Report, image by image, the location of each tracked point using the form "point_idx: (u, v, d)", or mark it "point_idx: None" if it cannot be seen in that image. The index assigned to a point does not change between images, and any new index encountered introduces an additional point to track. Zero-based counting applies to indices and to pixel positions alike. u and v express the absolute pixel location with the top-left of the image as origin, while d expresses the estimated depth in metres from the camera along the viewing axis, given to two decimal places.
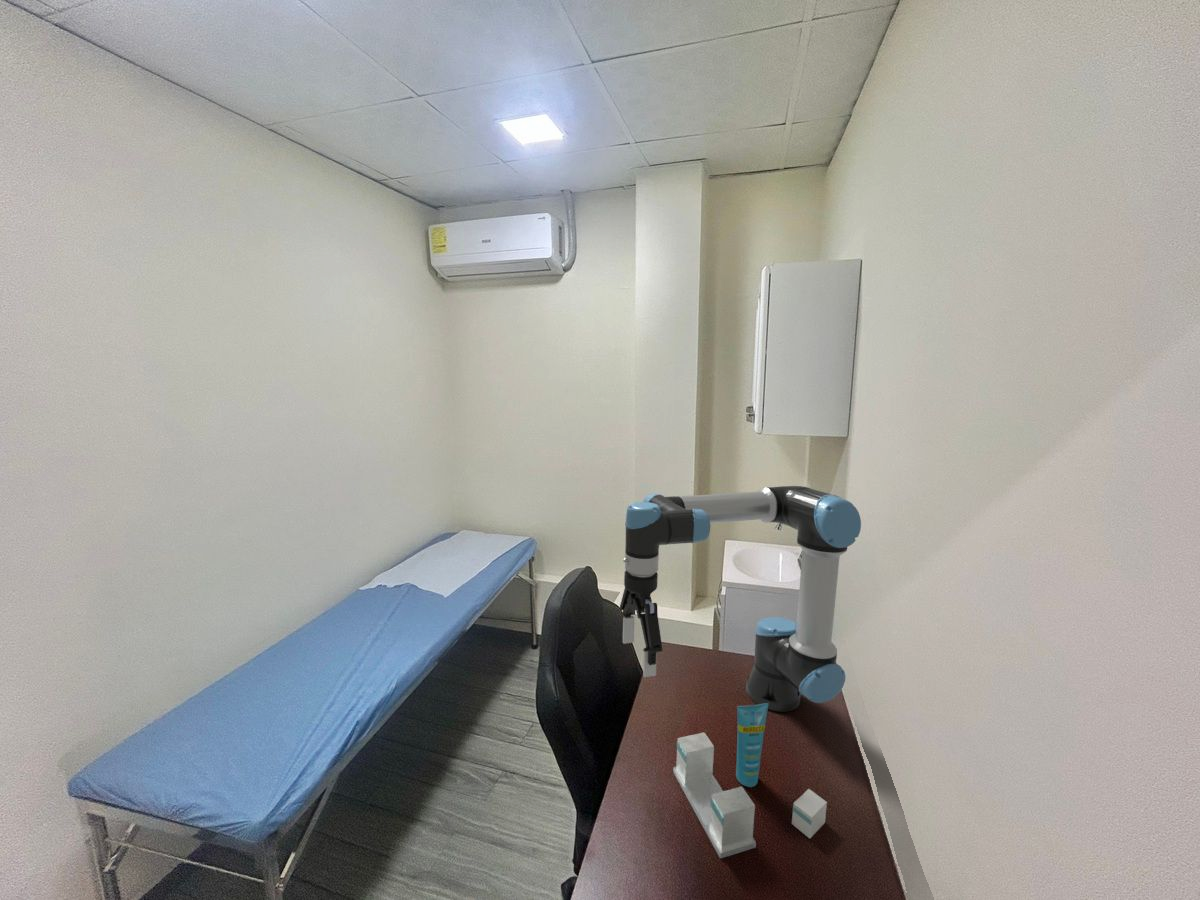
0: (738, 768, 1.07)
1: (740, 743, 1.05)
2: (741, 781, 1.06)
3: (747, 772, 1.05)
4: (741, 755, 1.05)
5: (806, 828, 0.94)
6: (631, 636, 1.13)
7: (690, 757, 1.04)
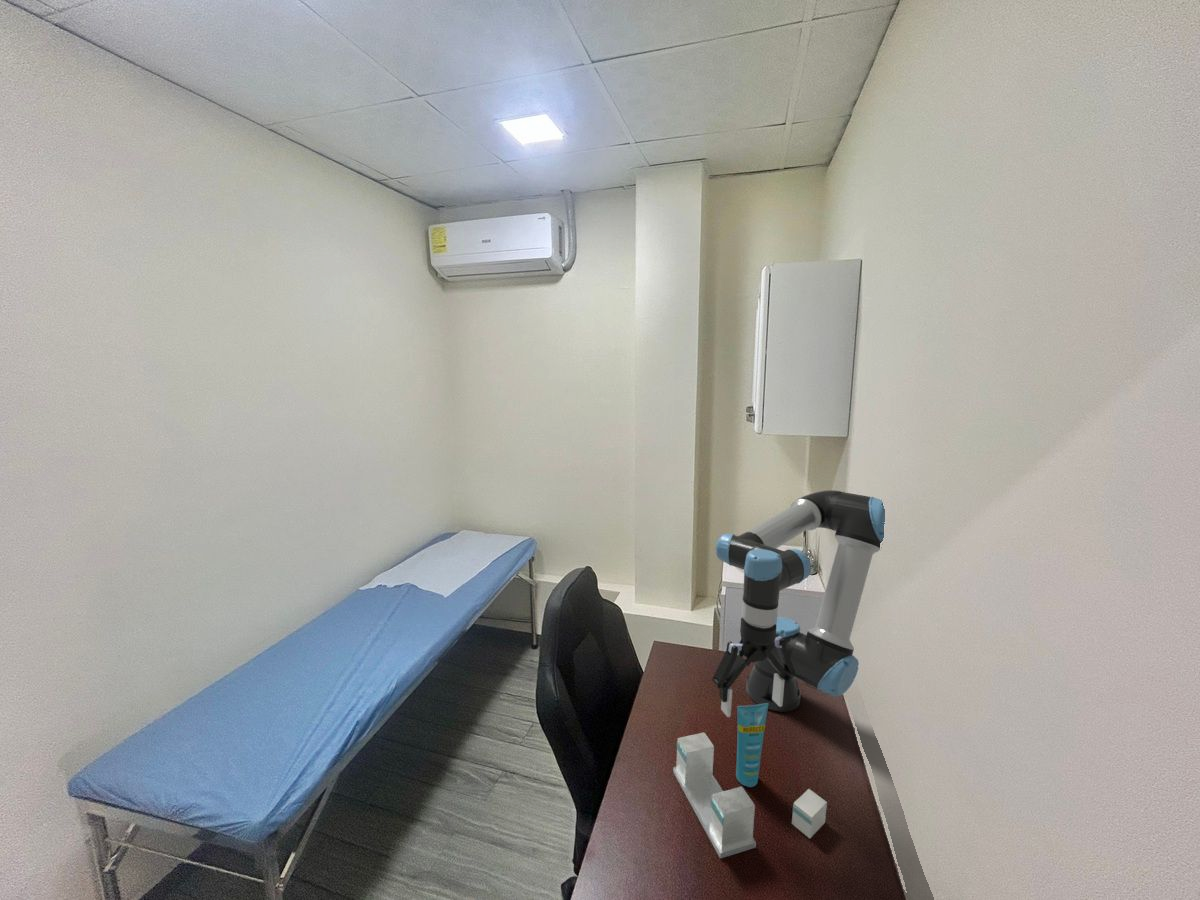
0: (738, 768, 1.07)
1: (740, 743, 1.05)
2: (741, 781, 1.06)
3: (747, 772, 1.05)
4: (741, 755, 1.05)
5: (806, 828, 0.94)
6: (778, 699, 1.06)
7: (690, 757, 1.04)
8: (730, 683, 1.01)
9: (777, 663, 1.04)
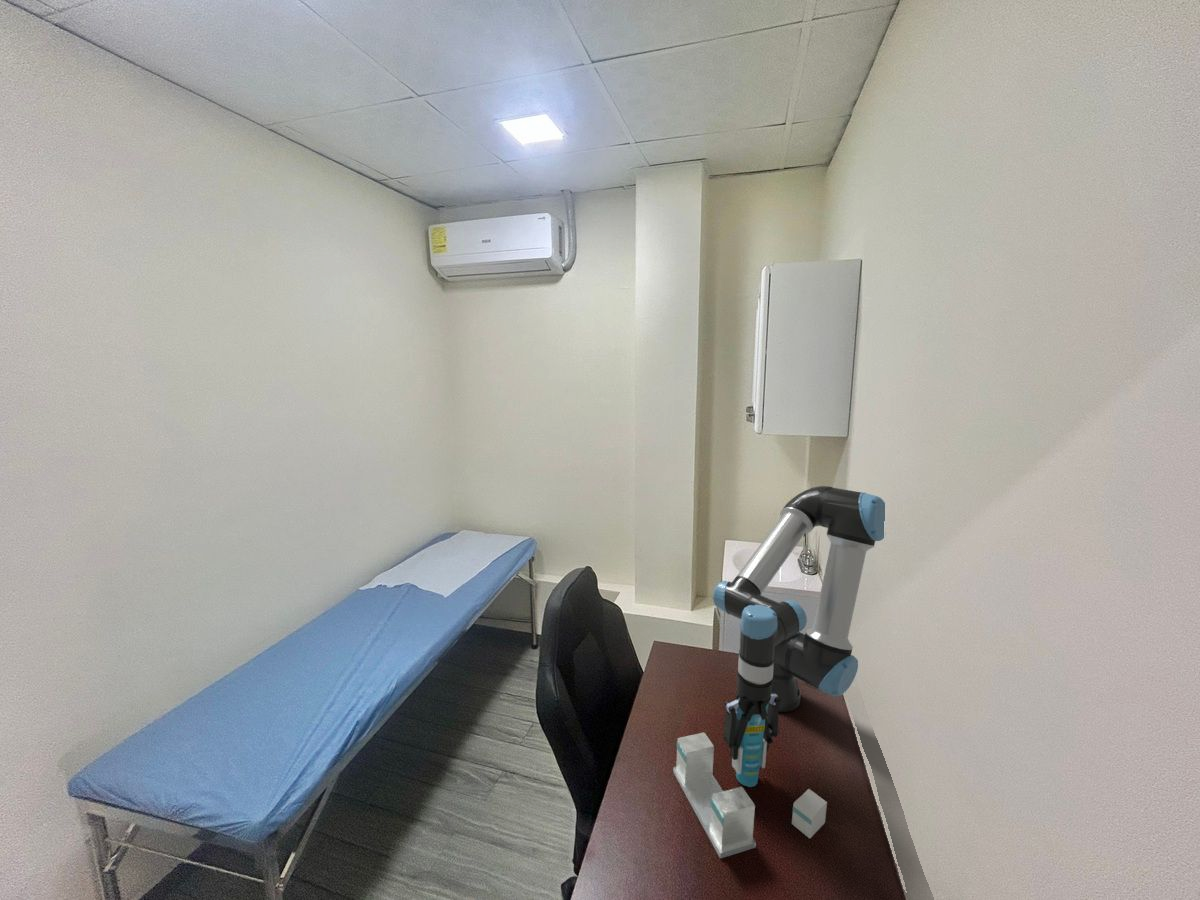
0: None
1: None
2: (741, 781, 1.06)
3: (747, 771, 1.05)
4: None
5: (806, 828, 0.94)
6: (761, 760, 1.07)
7: (690, 757, 1.04)
8: (739, 741, 1.04)
9: (766, 722, 1.05)
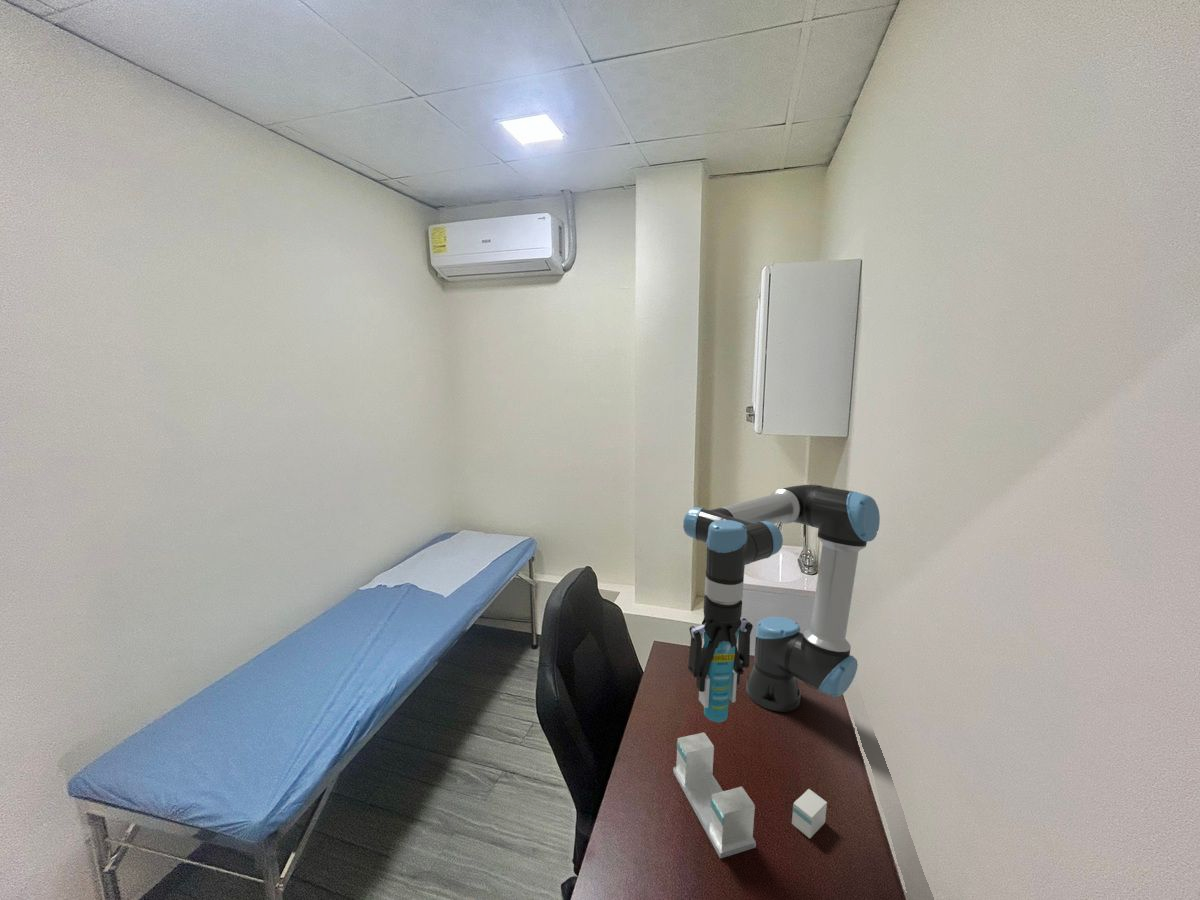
0: None
1: (708, 673, 0.95)
2: (709, 716, 0.96)
3: (715, 705, 0.95)
4: (709, 687, 0.95)
5: (806, 828, 0.94)
6: (730, 694, 0.97)
7: (690, 757, 1.04)
8: (706, 670, 0.94)
9: (736, 650, 0.95)
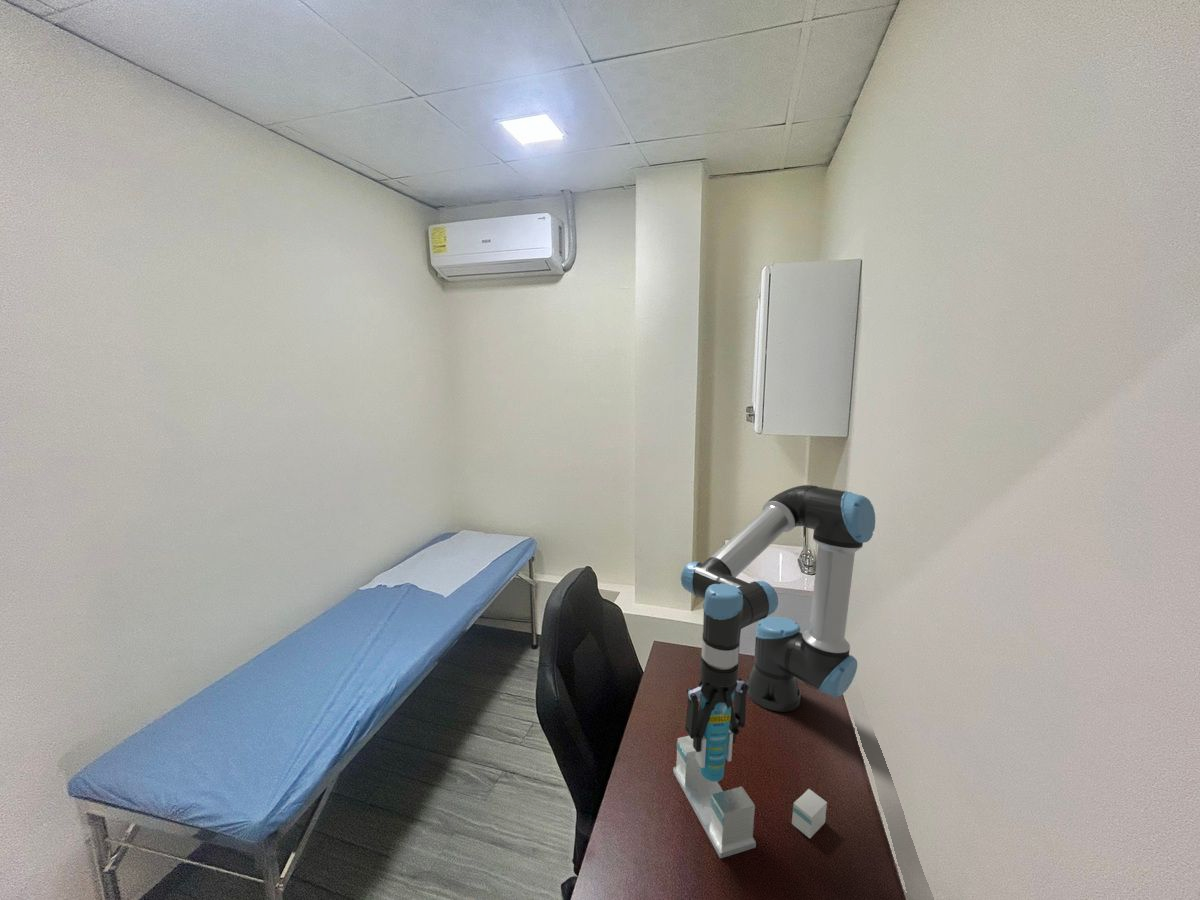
0: None
1: (704, 734, 0.97)
2: (705, 775, 0.98)
3: (711, 765, 0.97)
4: None
5: (806, 828, 0.94)
6: (727, 753, 0.99)
7: (690, 757, 1.04)
8: (702, 732, 0.95)
9: (732, 711, 0.97)
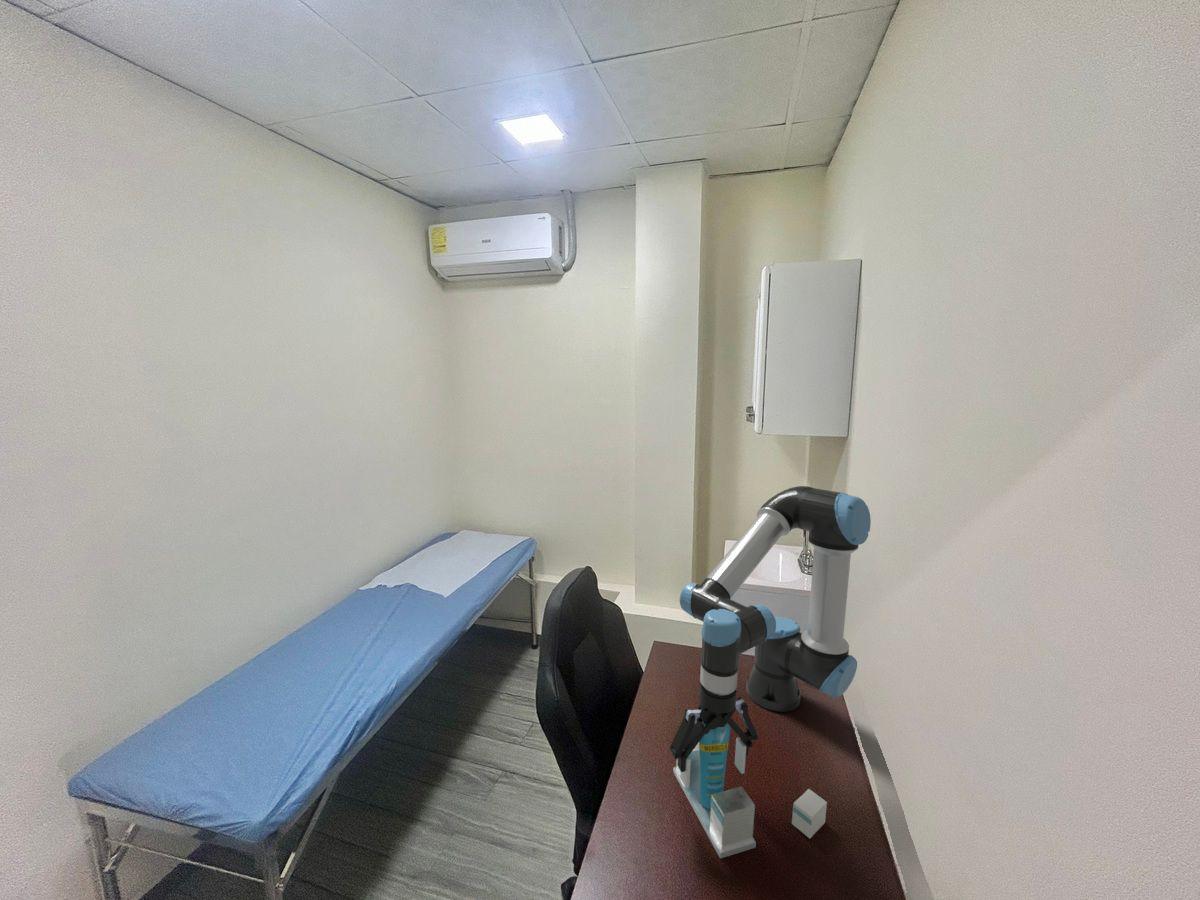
0: (701, 789, 0.99)
1: (702, 763, 0.98)
2: (704, 803, 0.99)
3: (709, 793, 0.98)
4: (703, 775, 0.98)
5: (806, 828, 0.94)
6: (740, 765, 1.00)
7: (690, 757, 1.04)
8: (688, 752, 0.95)
9: (738, 729, 0.98)
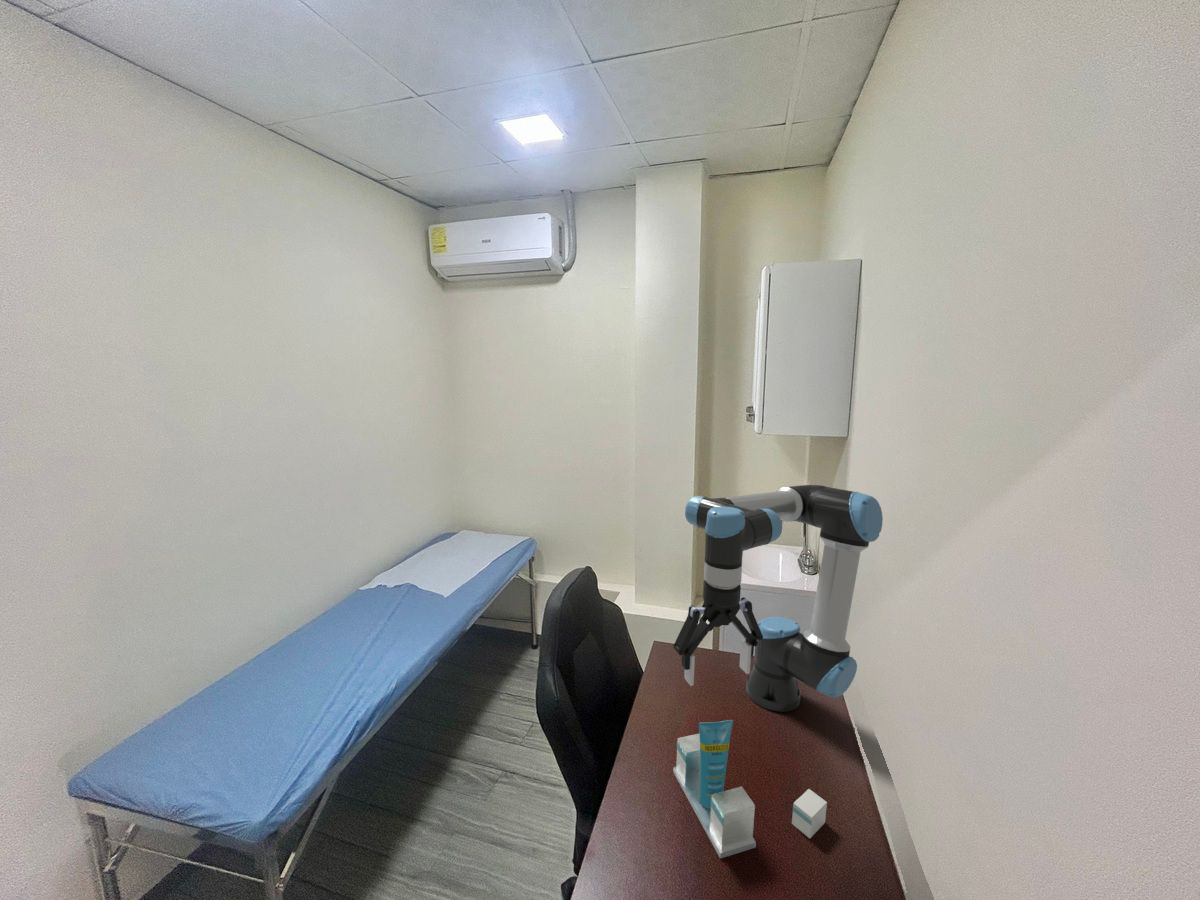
0: (701, 789, 0.99)
1: (703, 762, 0.98)
2: (704, 803, 0.99)
3: (710, 793, 0.98)
4: (704, 775, 0.98)
5: (806, 828, 0.94)
6: (745, 665, 0.99)
7: (690, 757, 1.04)
8: (692, 649, 0.94)
9: (743, 627, 0.97)
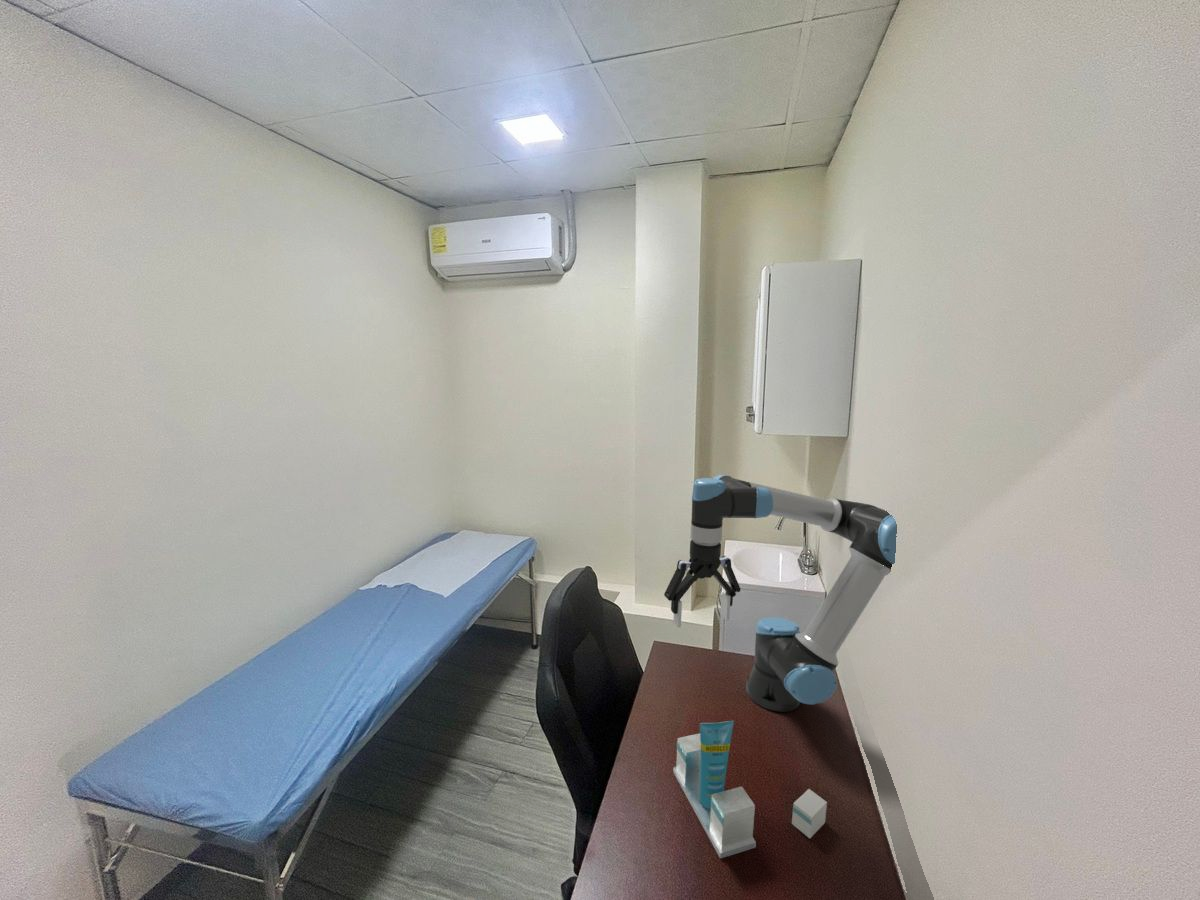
0: (701, 789, 0.99)
1: (703, 763, 0.98)
2: (704, 803, 0.99)
3: (710, 794, 0.98)
4: (704, 775, 0.98)
5: (806, 828, 0.94)
6: (725, 613, 1.18)
7: (690, 757, 1.04)
8: (680, 596, 1.13)
9: (723, 580, 1.16)
